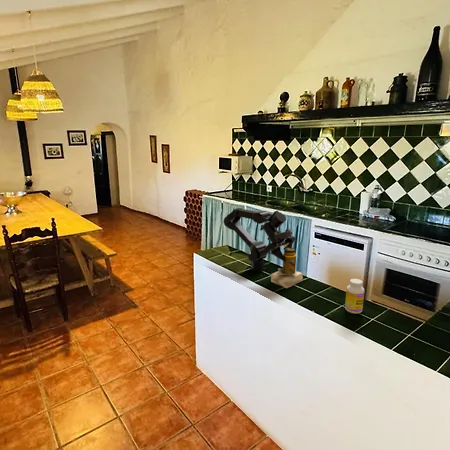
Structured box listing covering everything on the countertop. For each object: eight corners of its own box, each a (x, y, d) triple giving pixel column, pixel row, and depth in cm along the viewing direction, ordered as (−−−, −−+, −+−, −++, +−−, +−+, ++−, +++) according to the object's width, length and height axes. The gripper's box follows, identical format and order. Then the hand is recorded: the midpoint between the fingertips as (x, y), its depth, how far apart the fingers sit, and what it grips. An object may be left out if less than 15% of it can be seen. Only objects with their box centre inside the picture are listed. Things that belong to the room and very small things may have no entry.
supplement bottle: (355, 316, 126) (358, 286, 122) (341, 308, 131) (343, 280, 128) (365, 311, 129) (368, 281, 126) (351, 304, 134) (354, 276, 131)
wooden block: (271, 281, 158) (271, 274, 157) (286, 274, 165) (286, 267, 164) (287, 288, 150) (287, 280, 149) (302, 280, 158) (302, 273, 157)
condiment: (296, 275, 152) (298, 251, 149) (278, 275, 153) (279, 251, 150) (295, 269, 159) (296, 246, 156) (277, 269, 160) (278, 246, 157)
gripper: (268, 227, 147) (286, 256, 142) (293, 220, 159) (311, 246, 154) (256, 240, 155) (273, 267, 150) (281, 232, 167) (297, 257, 162)
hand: (289, 259), depth 154 cm, fingers closed on condiment, 6 cm apart
